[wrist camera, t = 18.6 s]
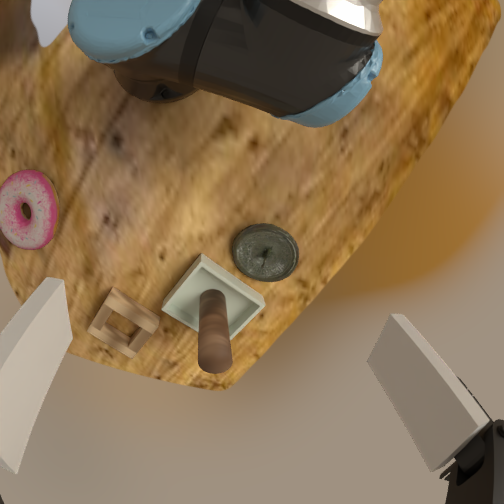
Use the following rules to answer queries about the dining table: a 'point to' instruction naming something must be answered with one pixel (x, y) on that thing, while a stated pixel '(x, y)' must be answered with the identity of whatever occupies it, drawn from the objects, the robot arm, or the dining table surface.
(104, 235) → the dining table surface
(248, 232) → the lid
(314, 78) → the robot arm
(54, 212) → the donut
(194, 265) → the tray
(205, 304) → the dowel
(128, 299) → the square wooden peg frame
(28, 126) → the dining table surface
